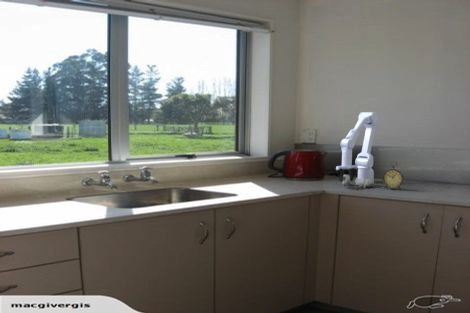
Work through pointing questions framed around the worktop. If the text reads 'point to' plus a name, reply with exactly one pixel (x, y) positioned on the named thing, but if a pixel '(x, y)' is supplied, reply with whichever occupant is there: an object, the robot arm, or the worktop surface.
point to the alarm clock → (393, 177)
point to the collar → (346, 179)
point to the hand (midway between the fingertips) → (346, 181)
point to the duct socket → (361, 183)
